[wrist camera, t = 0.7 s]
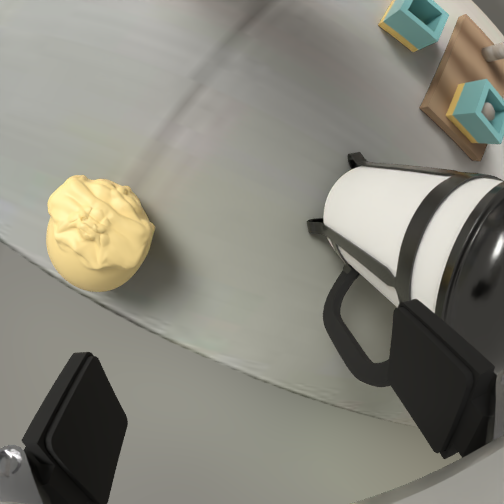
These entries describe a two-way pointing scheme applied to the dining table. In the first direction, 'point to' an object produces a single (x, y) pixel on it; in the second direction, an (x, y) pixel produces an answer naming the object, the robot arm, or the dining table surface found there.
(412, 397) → the robot arm
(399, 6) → the sleeve
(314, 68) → the dining table surface
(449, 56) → the pin board
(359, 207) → the coffee press
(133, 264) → the sculpture
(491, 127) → the seated sleeve
